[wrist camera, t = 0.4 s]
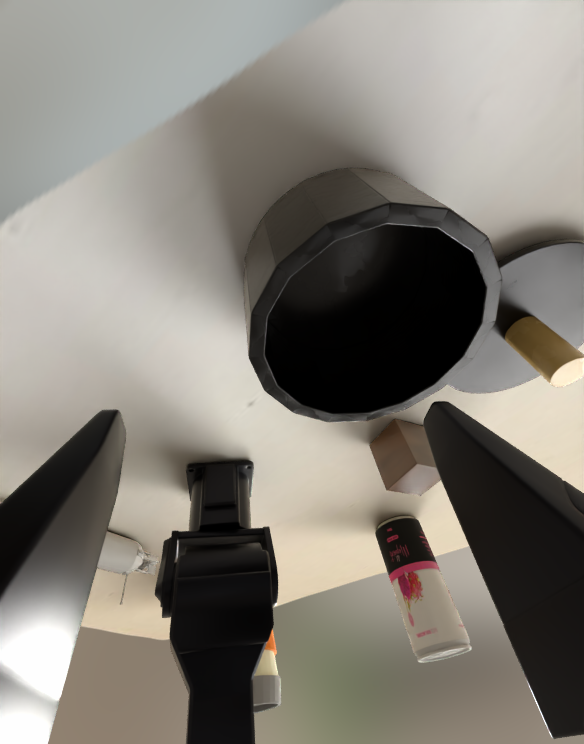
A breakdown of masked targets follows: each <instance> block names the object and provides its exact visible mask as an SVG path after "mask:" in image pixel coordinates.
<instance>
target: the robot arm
mask: <svg viewBox="0 0 584 744" xmlns="http://www.w3.org/2000/svg"><path fill="white" fill-rule="evenodd" d="M423 425H424V430H425V433H426V436H427V439H428V442H429V446H430V449H431V452H432V455H433V459H434V462H435V465H436V468H437V471H438V473H439V476H440V478H441V481H442V483H443V485H444V488H445V490H446V492H447V495H448V497H449V499H450V502H451V504H452V506H453V509H454V511H455V513H456V516H457V518H458V520H459V523H460V525H461V527H462V530H463V532H464V534H465V537H466V539H467V541H468V544H469V546H470V548H471V551H472V553H473V555H474V558H475V560H476V562H477V565H478V567H479V569H480V572H481V574H482V576H483V579H484V581H485V583H486V586H487V588H488V590H489V593H490V595H491V597H492V600H493V602H494V604H495V607H496V609H497V611H498V614H499V616H500V618H501V621H502V623H503V624H504V628H505V630H506V633H507V635H508V637H509V640H510V642H511V644H512V647H513V649H514V651H515V654H516V656H517V658H518V661H519V663H520V665H521V668H522V670H523V673H524V675H525V677H526V679H527V682H528V684H529V686H530V689H531V691H532V693H533V696H534V698H535V701H536V703H537V705H538V708H539V710H540V712H541V714H542V717H543V719H544V722H545V724H546V726H547V728H548V730H549V732H550V734H551V736H552V738H554V739H556V738H562V737H569V736H576V735H582V734H584V493H582V492H581V491H579V490H578V489H576V488H575V487H573V486H572V485H570V484H569V483H567V482H566V481H563V480H562V479H561V478H560V477H558V476H557V475H556V474H554V473H553V472H551V471H550V470H548V469H547V468H545V467H544V466H542V465H541V464H539V463H538V462H536V461H535V460H533V459H532V458H530V457H529V456H527V455H526V454H524V453H523V452H522V451H520V450H519V449H517V448H516V447H514V446H513V445H511V444H510V443H508V442H507V441H505V440H504V439H502V438H501V437H499V436H498V435H496V434H495V433H493V432H492V431H490V430H489V429H488V428H486V427H485V426H483V425H482V424H480V423H479V422H477V421H476V420H474V419H473V418H471V417H470V416H468V415H467V414H465V413H464V412H462V411H461V410H459V409H458V408H456V407H455V406H454V405H452V404H451V403H449V402H446V401H438V402H434V403H433V404H432V405H431V407H430V409H429V411H428V412H427V414H426V416H425V418H424V422H423ZM125 442H126V429H125V426H124V423H123V419H122V416H121V413H120V411H119V410H116V409H113V410H102V411H100V412H99V413H97V414H96V415H95V416H94V417H93V418H92V419H91V420H90V421H89V422H88V423H87V424H86V425H85V426H84V427H82V428H81V429H80V430H79V431H78V432H77V433H76V434H75V435H74V436H73V437H72V438H71V439H70V440H69V441H68V442H66V443H65V444H64V445H63V446H62V447H61V448H60V449H59V450H58V451H57V452H56V453H55V454H54V455H53V456H51V457H50V458H49V459H48V460H47V461H46V462H45V463H44V464H43V465H42V466H41V467H40V468H39V469H38V470H36V471H35V472H34V473H33V474H32V475H31V476H30V477H29V478H28V479H27V480H26V481H25V482H24V483H23V484H21V485H20V486H19V487H18V488H17V489H16V490H15V491H14V492H13V493H12V494H11V495H10V496H9V497H8V498H7V499H5V500H4V501H3V502H2V503H1V504H0V744H48V740H49V737H50V733H51V730H52V726H53V723H54V719H55V715H56V712H57V708H58V705H59V698H60V697H61V693H62V690H63V686H64V682H65V679H66V676H67V672H68V668H69V665H70V661H71V658H72V654H73V650H74V647H75V643H76V640H77V636H78V633H79V629H80V626H81V622H82V619H83V615H84V611H85V608H86V604H87V601H88V597H89V594H90V590H91V586H92V583H93V579H94V576H95V572H96V569H97V565H98V562H99V558H100V554H101V551H102V547H103V544H104V540H105V537H106V533H107V529H108V526H109V522H110V519H111V515H112V512H113V508H114V505H115V501H116V497H117V493H118V487H119V481H120V475H121V468H122V461H123V455H124V448H125ZM253 470H254V464H253V462H251V461H240V462H221V463H201V464H189V465H187V468H186V473H187V480H188V487H189V494H190V501H191V508H190V520H189V531H182V532H179V531H172V536H171V537H170V538H169V539H167V540H165V541H164V545H163V552H162V559H161V564H160V569H159V574H158V578H157V583H156V588H155V596H156V597H157V598H158V599H159V600H160V602H161V607H162V618H168V617H171V625H170V646H171V652H172V654H173V657H174V659H175V662H176V664H177V666H178V669H179V671H180V673H181V676H182V678H183V681H184V683H185V686H186V688H187V690H188V693H189V701H188V719H187V734H186V744H255V730H254V702H253V678H254V676H255V673H256V670H257V668H258V665H259V662H260V660H261V657H262V655H263V652H264V649H265V647H266V644H267V642H268V640H269V638H270V635H271V632H272V628H273V625H274V622H273V607H274V606H276V603H277V598H278V573H277V565H276V560H275V555H274V549H273V544H272V539H271V534H270V529H269V527H263V528H251V517H250V497H251V494H252V482H253Z"/></svg>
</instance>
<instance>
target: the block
mask: <svg viewBox="0 0 584 744" xmlns="http://www.w3.org/2000/svg"><path fill="white" fill-rule="evenodd" d="M369 446H370V449H371V451H372V454H373V456H374V459H375V462H376V464H377V467H378V469H379V472H380V475H381V477H382V480H383V482H384V485H385V488H386V490H387V491H394V492H400V493H407V494H413V495H420V496H421V495H422V494H424V493H425V492H426V491H427V490H429V489H430V488H431V487H432V486H434V485H435V484H436V483H438V482H439V481H440V480H441V478H440V476H439V473H438V471H437V468H436V465H435V462H434V459H433V455H432V452H431V449H430V446H429V442H428V439H427V436H426V433H425V430H424V426H421V425H417V424H413V423H409V422H406V421H402V420H398V419H394V420H393V421H392V422H391V423H390V424H389V425H388V426H387V427H386V428H385V429H384V430H383V431H382V433H381V434H380V435H379V436H378V437H377V438H376V439H375V440H374V441H373V442H372V443H371V444H370V445H369Z"/></svg>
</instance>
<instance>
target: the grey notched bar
mask: <svg viewBox="0 0 584 744" xmlns="http://www.w3.org/2000/svg"><path fill="white" fill-rule="evenodd" d="M145 554H146V555H145ZM148 555H150V557H148ZM157 557H158V556H155V555H152V554H151V553H148V552H147V551H143V549H142V547H141V545H140V544H139V543H138V542H136V541H134V540H131V539H128V538H125V537H123V536H120V535H117V534H114V533H111V532H108V531H107V533H106V537H105V540H104V544H103V547H102V551H101V554H100V558H99V562H98V565H97V568H98V569H102V570H106V571H110V572H114V573H118V574H122V575H125V574H126V579H125V584H124V589H123V594H122V599H121V603H120V605H121V604H122V603H123V602H122V600H123V595H124V590H125V585H126V580H127V575H128V574H129V573H131V572H133V571H138V572H141V573H145V574H146V573H148V574H152V575H155V571H156V566H153V565H156V564H157V563H160V561H157ZM146 559H147V560H149V561H147V560H146ZM144 568H148V571H144V570H142V569H144Z"/></svg>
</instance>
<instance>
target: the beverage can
mask: <svg viewBox="0 0 584 744" xmlns="http://www.w3.org/2000/svg"><path fill="white" fill-rule="evenodd" d="M375 534H376V538H377V541H378V544H379V547H380V550H381V553H382V556H383V559H384V562H385V565H386V568H387V572H388V575H389V578H390V581H391V584H392V587H393V590H394V593H395V596H396V599H397V602H398V606H399V609H400V611H401V615H402V618H403V621H404V624H405V627H406V630H407V633H408V636H409V640H410V643H411V645H412V649H413V652H414V654H415V655H416V656H417V657H418V662H431V661H437V660H441V659H446V658H449V657H453V656H457V655H460V654H463V653H465V652H468V651H470V650H471V649H472V648H471V646H470V645H469V642H470V639H469V637H468V634H467V632H466V630H465V627H464V625H463V623H462V620H461V618H460V616H459V613H458V611H457V609H456V606H455V604H454V602H453V599H452V597H451V595H450V593H449V590H448V588H447V586H446V583H445V581H444V579H443V577H442V574H441V572H440V570H439V567H438V565H437V562H436V560H435V558H434V555H433V553H432V551H431V548H430V546H429V544H428V541H427V539H426V537H425V534H424V532H423V530H422V527H421V525H420V523H419V521H418V520H417V519H415V518H413V517H411V516H399V517H394V518H391V519H389V520H386V521H384V522H383V523H381V524H380V525H379V526H378V528H377V530H376V533H375Z"/></svg>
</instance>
